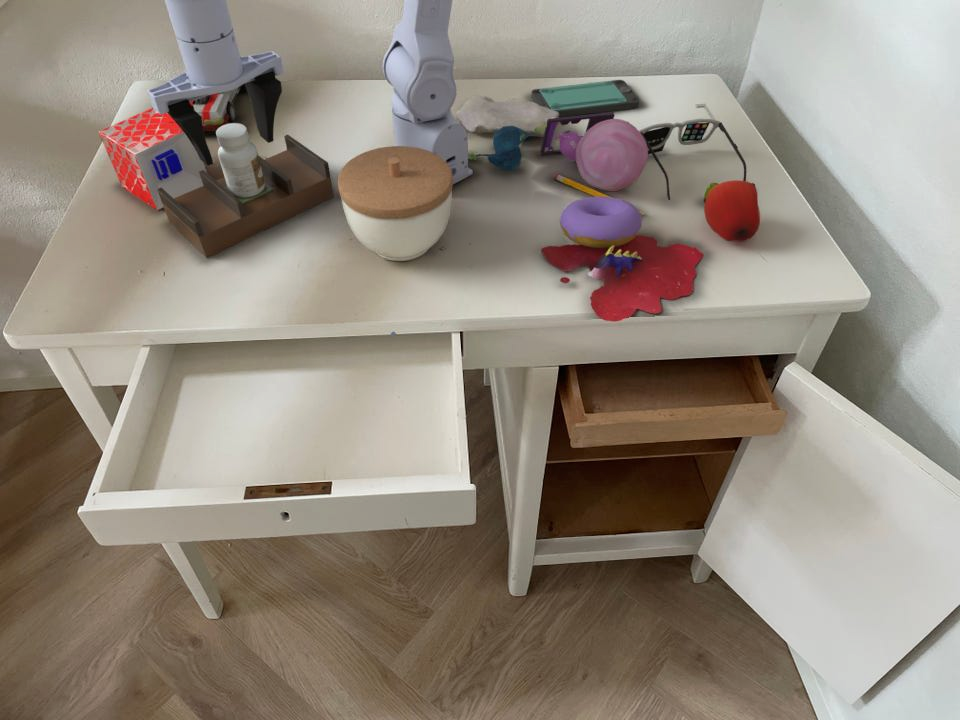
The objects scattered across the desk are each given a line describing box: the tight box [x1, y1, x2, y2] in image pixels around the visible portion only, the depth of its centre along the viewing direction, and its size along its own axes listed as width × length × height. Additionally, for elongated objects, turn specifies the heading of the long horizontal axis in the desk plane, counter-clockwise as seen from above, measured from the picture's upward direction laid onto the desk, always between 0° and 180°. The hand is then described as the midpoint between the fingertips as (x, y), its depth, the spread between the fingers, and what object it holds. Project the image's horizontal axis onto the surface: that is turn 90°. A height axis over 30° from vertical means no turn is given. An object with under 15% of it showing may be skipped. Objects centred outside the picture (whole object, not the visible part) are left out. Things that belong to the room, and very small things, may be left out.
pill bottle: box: [215, 122, 265, 198], centre depth 84 cm, size 4×4×8 cm
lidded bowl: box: [337, 145, 454, 262], centre depth 81 cm, size 13×13×11 cm
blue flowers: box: [468, 121, 547, 171], centre depth 95 cm, size 12×4×8 cm
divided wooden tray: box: [157, 134, 335, 259], centre depth 87 cm, size 9×18×5 cm, turn 133°
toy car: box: [190, 55, 247, 131], centre depth 103 cm, size 8×18×8 cm, turn 0°
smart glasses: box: [638, 103, 748, 201], centre depth 95 cm, size 12×14×5 cm
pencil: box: [553, 173, 645, 216], centre depth 91 cm, size 1×13×1 cm, turn 52°
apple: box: [703, 179, 761, 242], centre depth 85 cm, size 8×7×10 cm
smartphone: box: [530, 79, 641, 118], centre depth 107 cm, size 7×1×15 cm
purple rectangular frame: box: [540, 111, 616, 162], centre depth 95 cm, size 7×5×9 cm
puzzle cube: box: [98, 107, 208, 211], centre depth 90 cm, size 8×8×8 cm
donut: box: [559, 196, 643, 248], centre depth 83 cm, size 10×9×5 cm
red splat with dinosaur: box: [540, 234, 704, 323], centre depth 81 cm, size 18×15×5 cm
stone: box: [456, 94, 560, 138], centre depth 101 cm, size 11×3×15 cm
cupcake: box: [575, 118, 649, 192], centre depth 91 cm, size 9×9×10 cm
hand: (237, 149), depth 83 cm, fingers open, 7 cm apart
